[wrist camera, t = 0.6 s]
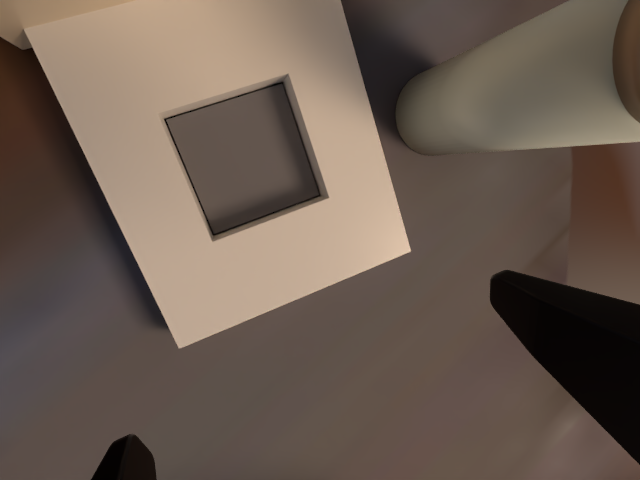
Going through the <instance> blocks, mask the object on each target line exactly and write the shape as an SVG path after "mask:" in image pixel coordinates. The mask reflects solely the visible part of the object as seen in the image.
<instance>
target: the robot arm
mask: <svg viewBox="0 0 640 480" xmlns="http://www.w3.org/2000/svg"><path fill="white" fill-rule="evenodd" d="M490 302H491V304H492V306H493V308H494V309H495V311H496V312H497V313H498V314H499V315H500V317H501V318H502V319H503V320H504V322H505V323H506V324H507V325H508V327H509V328H510V329H511V330H512V332H513V333H514V334H515V335H516V336H517V338H518V339H519V340H520V341H521V343H522V344H523V345H524V346H525V348H526V349H527V350H528V351H529V352H530V353H531V355H532V356H533V357H534V358H535V359H536V360H537V361H538V362H539V363H540V364H541V365H542V366H543V367H544V368H545V369H546V370H547V371H548V372H549V373H550V374H551V375H552V376H553V377H554V378H555V379H556V380H557V381H558V382H559V383H560V384H561V385H562V386H563V387H564V389H565V390H566V391H567V392H568V393H569V394H570V395H571V396H572V397H573V398H574V399H575V400H576V401H577V402H578V403H579V404H580V405H581V406H582V407H583V408H584V409H585V410H586V411H587V412H588V413H589V414H590V415H591V416H592V417H593V418H594V419H595V420H596V421H597V422H598V423H599V424H600V425H601V426H602V427H603V428H604V429H605V430H606V431H607V432H608V433H609V434H610V435H611V436H612V437H613V438H614V439H615V440H616V441H617V442H618V443H619V444H620V445H621V446H622V447H623V448H624V449H625V450H626V451H627V452H628V453H629V454H630V455H631V456H632V457H633V458H634V459H635V460H636V461H637V462H638V463H639V465H640V305H639V304H635V303H631V302H627V301H624V300H620V299H616V298H612V297H609V296H605V295H601V294H597V293H593V292H589V291H586V290H582V289H579V288H574V287H571V286H567V285H563V284H560V283H556V282H552V281H548V280H545V279H541V278H537V277H533V276H529V275H526V274H522V273H518V272H514V271H510V270H504V271H501V272H499V273H497V274H494V275H493V276H492V277H491V280H490ZM91 480H157V479H156V470H155V462H154V458H153V455H152V453H151V452H150V451H149V449H148V448H147V447H146V446H145V445H144V444H143V443H142V441H141V440H140V439H139V438H138V437H137V436H136V435H134V434H129V435H127V436H125V437H122V438H120V439H118V440H116V441H114V442H113V443H112V444H111V446H110V447H109V449H108V451H107V452H106V454H105V456H104V458H103V459H102V461H101V463H100V465H99V466H98V468H97V470H96V472H95V473H94V475H93V477H92V479H91Z"/></svg>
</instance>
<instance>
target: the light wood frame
mask: <svg viewBox="0 0 640 480" xmlns="http://www.w3.org/2000/svg"><path fill="white" fill-rule="evenodd" d="M0 37H2V38H3V39H5V40H7V41H8V42H10V43H12V44H13V45H15V46H17V47H18V48H20V49H22V50H25V49H28V48H32V47H33V50H34V52H35V54H36V56H37V58H38V60H39V62H40V64H41V66H42V68H43V70H44V72H45V74H46V76H47V78H48V80H49V82H50V84H51V86H52V89H53V91H54V93H55V95H56V97H57V99H58V101H59V103H60V105H61V107H62V109H63V111H64V113H65V115H66V117H67V119H68V121H69V123H70V126H71V128H72V130H73V132H74V134H75V136H76V138H77V140H78V142H79V144H80V146H81V148H82V150H83V152H84V154H85V156H86V158H87V160H88V163H89V165H90V167H91V169H92V171H93V173H94V175H95V177H96V179H97V181H98V183H99V185H100V187H101V189H102V191H103V193H104V195H105V197H106V200H107V202H108V204H109V206H110V208H111V210H112V212H113V214H114V216H115V218H116V220H117V222H118V224H119V226H120V228H121V230H122V232H123V234H124V236H125V239H126V241H127V243H128V245H129V247H130V249H131V251H132V253H133V255H134V257H135V259H136V261H137V263H138V265H139V267H140V269H141V271H142V273H143V276H144V278H145V280H146V282H147V284H148V286H149V288H150V290H151V292H152V294H153V296H154V298H155V300H156V302H157V304H158V306H159V308H160V310H161V313H162V315H163V317H164V319H165V321H166V323H167V325H168V327H169V329H170V331H171V333H172V335H173V337H174V339H175V341H176V343H177V345H178V347H179V349H180V348H182V347H185V346H187V345H189V344H192V343H194V342H196V341H199V340H201V339H204V338H206V337H208V336H211V335H213V334H215V333H218V332H220V331H223V330H225V329H227V328H230V327H232V326H235V325H237V324H239V323H242V322H244V321H246V320H249V319H251V318H254V317H256V316H258V315H261V314H263V313H265V312H268V311H270V310H273V309H275V308H277V307H280V306H282V305H284V304H287V303H289V302H292V301H294V300H296V299H299V298H301V297H304V296H306V295H308V294H311V293H313V292H315V291H318V290H320V289H323V288H325V287H327V286H330V285H332V284H334V283H337V282H339V281H342V280H344V279H346V278H349V277H351V276H354V275H356V274H358V273H361V272H363V271H365V270H368V269H370V268H373V267H375V266H377V265H380V264H382V263H384V262H387V261H389V260H392V259H394V258H396V257H399V256H401V255H403V254H406V253H408V252H411V250H410V246H409V243H408V239H407V235H406V232H405V228H404V225H403V221H402V218H401V214H400V210H399V207H398V203H397V200H396V196H395V193H394V189H393V185H392V182H391V178H390V175H389V171H388V168H387V164H386V160H385V157H384V153H383V150H382V146H381V143H380V139H379V136H378V132H377V128H376V125H375V121H374V118H373V114H372V111H371V107H370V103H369V100H368V96H367V93H366V89H365V86H364V82H363V78H362V75H361V71H360V68H359V64H358V61H357V57H356V53H355V50H354V46H353V43H352V39H351V36H350V32H349V29H348V25H347V21H346V18H345V14H344V11H343V7H342V4H341V0H0ZM281 82H283V84H279V85H275V84H278V83H281ZM272 85H275V86H272ZM283 85H284V87H283ZM269 86H272V87H269ZM265 87H269V88H266V89H263V90H259V89H262V88H265ZM284 88H285V90H284ZM256 90H259V91H256ZM253 91H256V92H253ZM285 91H286V93H285ZM249 92H253V93H250V94H247V95H243V94H246V93H249ZM286 94H287V96H286ZM240 95H243V96H240ZM237 96H240V97H237ZM233 97H237V98H234V99H231V100H227V99H230V98H233ZM287 97H288V99H287ZM224 100H227V101H224ZM288 100H289V102H288ZM221 101H224V102H221ZM217 102H221V103H218V104H215V105H211V104H214V103H217ZM289 103H290V105H289ZM208 105H211V106H208ZM205 106H208V107H205ZM290 106H291V108H290ZM201 107H205V108H202V109H199V110H195V109H198V108H201ZM291 109H292V111H291ZM192 110H195V111H192ZM189 111H192V112H189ZM185 112H189V113H186V114H183V115H180V116H176V115H179V114H182V113H185ZM292 112H293V114H292ZM293 115H294V117H293ZM173 116H176V117H173ZM169 117H173V118H170V119H167V120H166V121H167V123H168V126H169V128H170V131H171V133H172V135H173V138H174V140H175V142H176V145H177V147H178V150H179V152H180V154H181V157H182V159H183V162H184V164H185V166H186V169H187V171H188V173H189V176H190V178H191V181H192V183H193V185H194V188H195V190H196V192H197V195H198V197H199V200H200V202H201V204H202V207H203V209H204V211H205V214H206V216H207V219H208V221H209V223H210V226H211V228H212V230H213V233H214V234H216V233H219V232H221V231H224V230H227V229H229V228H232V227H235V226H237V225H240V224H243V223H245V222H248V221H251V220H253V219H256V218H259V217H261V216H264V215H267V214H270V213H272V212H275V211H278V210H280V209H283V208H286V207H288V206H291V205H294V204H296V203H299V202H302V201H304V200H307V199H310V198H312V197H315V196H318V195H319V193H320V196H318V197H315V198H312V199H310V200H307V201H304V202H302V203H299V204H296V205H294V206H291V207H288V208H286V209H283V210H280V211H278V212H275V213H272V214H270V215H267V216H264V217H262V218H259V219H256V220H254V221H251V222H248V223H246V224H243V225H240V226H238V227H235V228H232V229H229V230H227V231H224V232H221V233H219V234H216V235H213V234H212V232H211V229H210V227H209V225H208V222H207V220H206V217H205V215H204V213H203V210H202V208H201V206H200V203H199V201H198V198H197V196H196V194H195V191H194V189H193V187H192V184H191V182H190V179H189V177H188V175H187V172H186V170H185V168H184V165H183V163H182V161H181V158H180V156H179V153H178V151H177V149H176V146H175V144H174V142H173V139H172V137H171V134H170V132H169V130H168V127H167V125H166V123H165V120H164V119H166V118H169ZM294 118H295V120H294ZM295 121H296V123H295ZM296 124H297V126H296ZM297 127H298V129H297ZM298 130H299V132H298ZM299 133H300V135H299ZM300 136H301V138H300ZM301 139H302V141H301ZM302 142H303V144H302ZM303 145H304V147H303ZM304 148H305V150H304ZM305 151H306V153H305ZM306 154H307V156H306ZM307 157H308V159H307ZM308 160H309V162H308ZM309 163H310V165H309ZM310 166H311V168H310ZM311 169H312V171H311ZM312 172H313V174H312ZM313 175H314V177H313ZM314 178H315V180H314ZM315 181H316V183H315ZM316 184H317V186H316ZM317 187H318V189H317ZM318 190H319V192H318Z"/></svg>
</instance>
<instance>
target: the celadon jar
mask: <svg viewBox="0 0 640 480" xmlns="http://www.w3.org/2000/svg"><path fill="white" fill-rule="evenodd" d="M395 117H396V125H397V128H398V131H399V134H400V136H401V138H402V139H403V141H404V142H405V143H406V145H407V146H409V147H410V148H411V149H412V150H414V151H415V152H417V153H419V154H423V155H428V156H434V155H449V154H464V153H479V152H493V151H508V150H523V149H537V148H552V147H567V146H579V145H580V146H581V145H596V144H611V143H624V142H625V143H626V142H639V141H640V0H570V1H568V2H565V3H563V4H561V5H559V6H557V7H555V8H553V9H551V10H549V11H547V12H545V13H543V14H541V15H539V16H537V17H535V18H533V19H531V20H529V21H527V22H525V23H522V24H520V25H518V26H516V27H514V28H512V29H510V30H508V31H506V32H504V33H502V34H500V35H498V36H496V37H494V38H492V39H490V40H488V41H486V42H484V43H482V44H479V45H477V46H475V47H473V48H471V49H469V50H467V51H465V52H463V53H461V54H459V55H457V56H455V57H453V58H451V59H449V60H447V61H445V62H443V63H441V64H439V65H436V66H434V67H432V68H430V69H428V70H426V71H424V72H422V73H420V74H418V75H416V76H415V77H413V78H412V79H411V80H409V82H408V83H407V84H406V85H405V86H404V88H403V89H402V91H401V93H400V95H399V97H398V100H397V104H396V111H395Z"/></svg>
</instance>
